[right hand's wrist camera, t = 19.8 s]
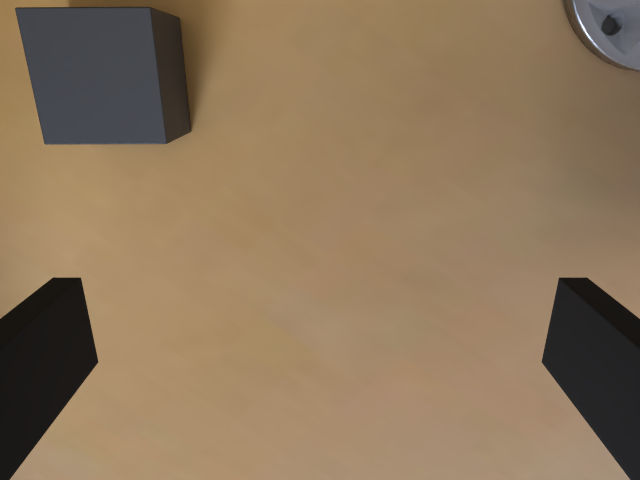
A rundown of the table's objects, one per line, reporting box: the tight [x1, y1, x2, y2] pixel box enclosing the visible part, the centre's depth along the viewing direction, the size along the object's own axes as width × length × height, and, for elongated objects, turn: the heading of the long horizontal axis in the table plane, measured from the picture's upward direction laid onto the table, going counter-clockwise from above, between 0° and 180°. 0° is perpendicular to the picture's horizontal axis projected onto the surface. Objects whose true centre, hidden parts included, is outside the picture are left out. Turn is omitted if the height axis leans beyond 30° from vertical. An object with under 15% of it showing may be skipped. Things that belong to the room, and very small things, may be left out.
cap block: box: [15, 7, 191, 144], centre depth 31 cm, size 8×8×6 cm
